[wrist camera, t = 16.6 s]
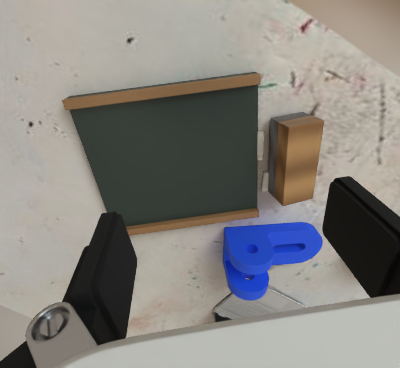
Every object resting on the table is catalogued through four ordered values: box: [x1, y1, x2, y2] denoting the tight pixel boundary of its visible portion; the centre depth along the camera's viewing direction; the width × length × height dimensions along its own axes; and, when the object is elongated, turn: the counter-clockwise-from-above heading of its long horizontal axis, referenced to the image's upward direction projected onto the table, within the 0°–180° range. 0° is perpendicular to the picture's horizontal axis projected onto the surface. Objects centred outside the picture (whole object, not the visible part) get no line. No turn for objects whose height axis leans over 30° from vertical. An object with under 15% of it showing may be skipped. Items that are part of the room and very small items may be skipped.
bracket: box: [223, 222, 322, 301], centre depth 44 cm, size 18×8×9 cm, turn 91°
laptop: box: [213, 279, 306, 322], centre depth 53 cm, size 18×12×13 cm
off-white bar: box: [261, 171, 269, 192], centre depth 41 cm, size 4×1×1 cm, turn 0°
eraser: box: [268, 112, 324, 206], centre depth 37 cm, size 12×5×4 cm, turn 6°
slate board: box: [62, 72, 260, 236], centre depth 37 cm, size 22×24×2 cm
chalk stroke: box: [257, 131, 264, 161], centre depth 38 cm, size 4×1×1 cm, turn 4°
